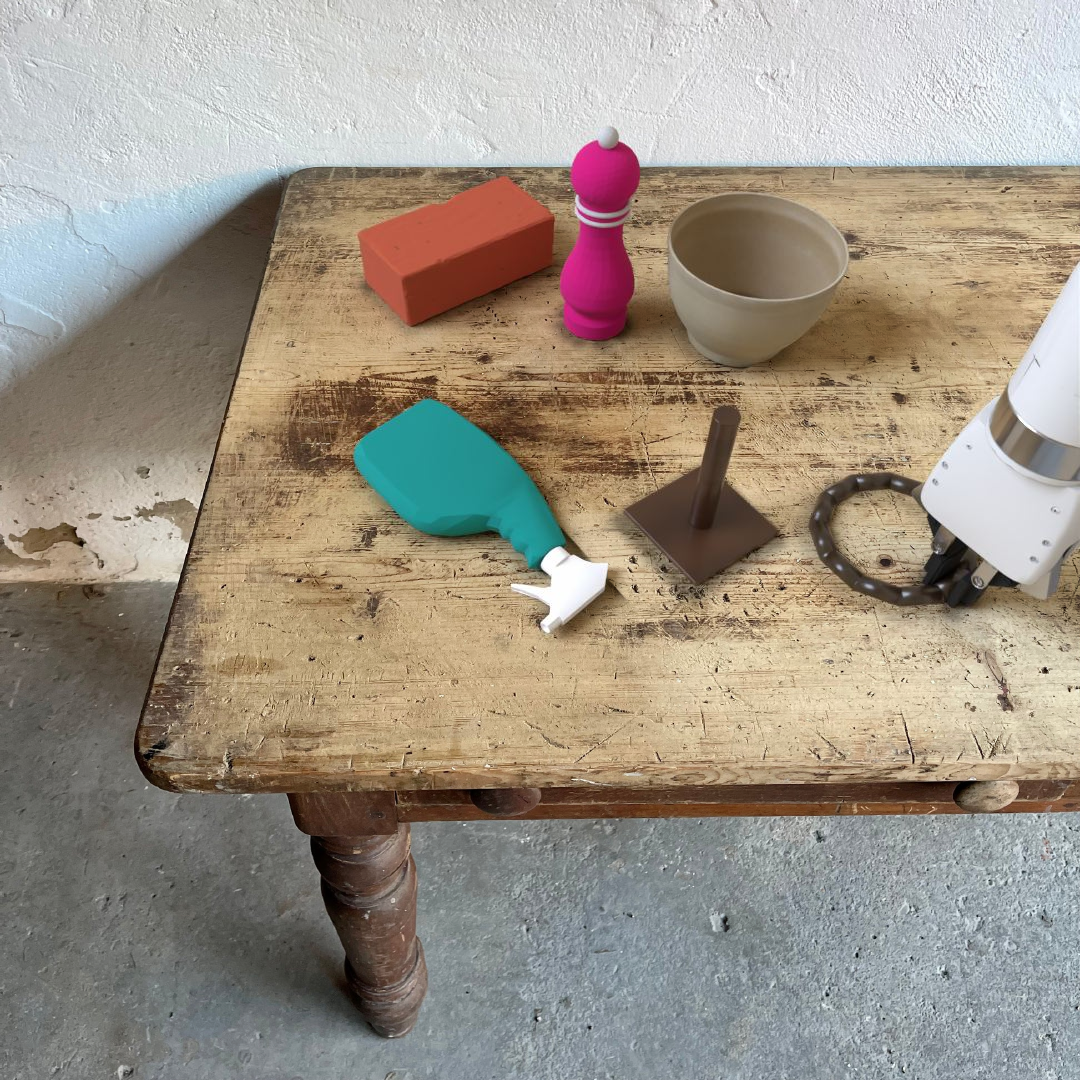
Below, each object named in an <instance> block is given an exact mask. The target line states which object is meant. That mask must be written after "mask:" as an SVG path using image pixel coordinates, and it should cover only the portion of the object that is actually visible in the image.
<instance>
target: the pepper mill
mask: <svg viewBox="0 0 1080 1080" xmlns="http://www.w3.org/2000/svg"><path fill="white" fill-rule="evenodd" d="M619 139H620V134H619V132H618V130H617V129H616V128H615V127H614V126H612V125H607V126H603V127H601V129H600V130H599V131H598V134H597V139H596V140H593V141H590V142H588V143H587V144H585V145H582V147H581V149H579V151H578V152H577V153H576V155H575V156H574V159H573V160H572V164H571V168H570V169H571V170H570V183H571V186H572V188H573V190H574V192H575V193H576V196H575V197H574V198H575V199H574V202H575V206H574V213H575V216H576V217H577V219H578V220H579V230H578V231H579V232H578V237H577V240H576V242H575V245H574V247H573V248H572V250H571V252H570V254H569V255H568V257H567V259H566V260H565V262H564V265H563V268H562V270H561V273H560V280H559V291H560V294H561V297H562V299H563V300H564V304H563V323H564V326H565V327H566V329H567V330H568V331H569V332H570V333H571V334H573V335H574V336H576V337H577V338H581V339H584V340H588V341H603V340H608V339H612V338H613V337H616V336H617V335H619V333H621V332H622V331H623V330H624V328H625V325H626V321H627V312H628V306H627V305H628V304H630V302H631V300H632V298H633V296H634V293H635V272H634V269H633V265H632V262H631V259H630V257H629V254H628V252H627V249H626V247H625V244H624V225H625V223H626V222H627V221H628V220H629V219H630V217H631V214H632V208H631V207H632V205H633V201H632V196H633V195H634V194H635V193H636V192H637V189H638V188H639V185H640V181H641V165H640V161H639V159H638V156H637V155H636V153H635V152H634V150H633V149H632V148H631V147H630V146H628V145H627V144H626V143H625V142H622V141H620V140H619Z"/></svg>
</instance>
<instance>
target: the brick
mask: <svg viewBox="0 0 1080 1080" xmlns="http://www.w3.org/2000/svg"><path fill="white" fill-rule="evenodd" d="M555 222H556V217H555V214H553V213H552V212H551V211H550V210H549V209H548V208H547V207H546V206H544V205H543V204H541V202H539V201H538V200H537V199H536V198H534V197H533V196H531V195H530V194H529V193H528V192H527V191H526V190H524V189H523V188H522V187H520V186H518V185H517V184H516V182H514V181H513V180H512V179H511V178H510V177H508V176H506V175H501V176H499V177H497V178H494V179H492V180H488V181H486V182H484V183H483V184H480V185H477V186H476V187H472V188H470V189H467V190H464V191H462V192H459V193H457V194H455V195H454V196H452V197H451V198H450V199H448V200H447V201H446V202H445V203H430V204H428V205H425V206H423V207H419V208H417V209H415V210H412V211H409V212H406V213H403V214H400V215H398V216H395V217H393V218H390V219H388V220H385V221H382V222H380V223H377V224H374V225H372V226H369V227H368V228H364V229H361V230H359V231H358V233H357V239H358V242H359V251H360V257H361V261H362V268H363V274H364V278H365V282H366V284H367V285H368V286H369V287H370V288H371V289H372V290H373V291H374V292H375V293H376V294H377V295H378V297H379V298H380V299H382V300H383V301H384V303H386V304H387V305H388V306H389V308H390V309H391V310H392V311H393V312H394V313H395V314H396V315H397V316H398V317H399V318H400V319H401V320H402V321H403V323H404V324H406V325H407V326H409V327H413V326H415V325H417V324H420V323H422V322H424V321H426V320H428V319H430V318H432V317H435V316H437V315H439V314H442V313H445V312H446V311H449V310H452V309H453V308H455V307H458V306H460V305H462V304H465V303H467V302H469V301H472V300H473V299H476V298H480V297H482V296H485V295H486V294H489V293H491V292H492V291H494V290H497V289H500V288H502V287H504V286H506V285H509V284H510V283H513V282H515V281H517V280H519V279H522V278H524V277H527V276H529V275H532V274H534V273H537V272H539V271H542V270H544V269H546V268H548V267H551V266H552V265H554V243H555Z"/></svg>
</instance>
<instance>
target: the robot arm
mask: <svg viewBox="0 0 1080 1080" xmlns="http://www.w3.org/2000/svg"><path fill="white" fill-rule="evenodd" d="M911 493H912V496H913V497H912V498H913V499H914V501H915V502H916V503H917V505H918V507H920V509H921V510H922V512H923V513H924V514H925V513H926V520H927V523H928V526H929V528H930V532H931V535H932V537H933V539H932V541H931V542H930V549H931V551H932V553H931V555H930V556H929V558H928V560H927V561H926V562H925V565H924V566H923V567H922V568H923V570H925V571H926V572H927V573H926V574H925V575H924V577H923V579H922V581H921V583H922V585H933V584H934V583H936V582H937V581H938V580H940V579H941V578H943V577H944V576H945V575H947V574H948V573H950V572H951V571H952V570H954V569H955V568H956V566H957V565H958V563H959V562H960V560H961V559H962V557H963V556H964V554H965V553H966V551H967V550H968V547H967V546H969V547H970V548H971V549H973V550H974V551H975V552H976V553H978V554H979V556H980V557H981V558H982V559H983V560H982V561H981V563H979V564H977V566H976V568H974V569H973V570H972V571H970V572H969V573H967V574H966V575H965V576H963V577H962V578H961V579H960V580H959V582H958V583H957V585H956V586H955V588H954V589H953V591H952V592H951V594H950V595H949V596H948V598H947V600H946V602H945V603H946V605H947V606H948V607H950V608H951V609H952V608H954V607H955V606H957V605H958V604H959V603H961V602H962V603H963V604H964V605H966V606H967V608H968V607H971V606H973V604H975V603H976V602H977V601H978V600H980V598H982V596H983V595H984V594H985V592H986V591H987V589H988V588H989V587H996V588H997V587H998V588H1007V589H1013V588H1017V589H1019V591H1020V592H1023V593H1025V594H1027V595H1029V596H1031V597H1033V598H1035V599H1037V600H1040V601H1045V600H1047V599H1048V598H1049V597H1050V596H1052V595H1053V594H1054V593H1056V592H1057V591H1058V587H1059V582H1060V575H1061V571H1062V565H1063V564H1064V563H1065V562H1066V561H1067V560H1069V558H1070V557H1071V556H1072V555H1073V554H1074V553H1075V552H1076V551H1077V550H1078V548H1079V547H1080V260H1079V261H1078V263H1077V264H1076V266H1075V267H1074V269H1073V271H1072V273H1071V274H1070V275H1069V277H1068V278H1067V280H1066V282H1065V284H1064V286H1063V288H1062V289H1061V291H1060V293H1059V295H1058V297H1056V299H1055V301H1054V303H1053V305H1052V307H1051V308H1050V310H1049V312H1048V314H1047V315H1046V317H1045V319H1044V320H1043V322H1042V324H1041V326H1040V327H1039V329H1038V331H1037V332H1036V334H1035V335H1034V338H1033V340H1032V341H1031V343H1030V345H1029V346H1028V348H1027V350H1026V352H1025V354H1024V355H1023V357H1022V358H1021V361H1020V362H1019V363H1018V365H1017V367H1016V369H1015V370H1014V372H1013V374H1012V376H1011V377H1010V379H1009V381H1008V382H1007V385H1006V386H1005V388H1004V390H1003V392H1002V393H1001V394H999V395H997V396H996V397H994V398H992V400H990V401H989V402H987V403H986V405H984V406H983V407H982V408H981V409H980V410H979V411H978V412H977V413H976V414H975V416H974V417H972V418H971V419H970V421H969V422H968V423H967V424H966V425H965V427H963V429H962V430H961V431H960V433H959V434H958V435H957V436H956V437H955V439H954V440H953V441H952V443H951V444H950V445H949V447H948V448H947V449H946V451H945V452H944V453H943V454H942V456H941V457H940V459H939V460H938V461H937V462H936V464H935V466H934V467H933V469H932V470H931V471H930V474H929V475H928V476H927V478H926V480H925V481H924V482H923V483H922V484H921V485H919V486H918V487H916V488H915V489H913V490H912V492H911Z"/></svg>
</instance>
